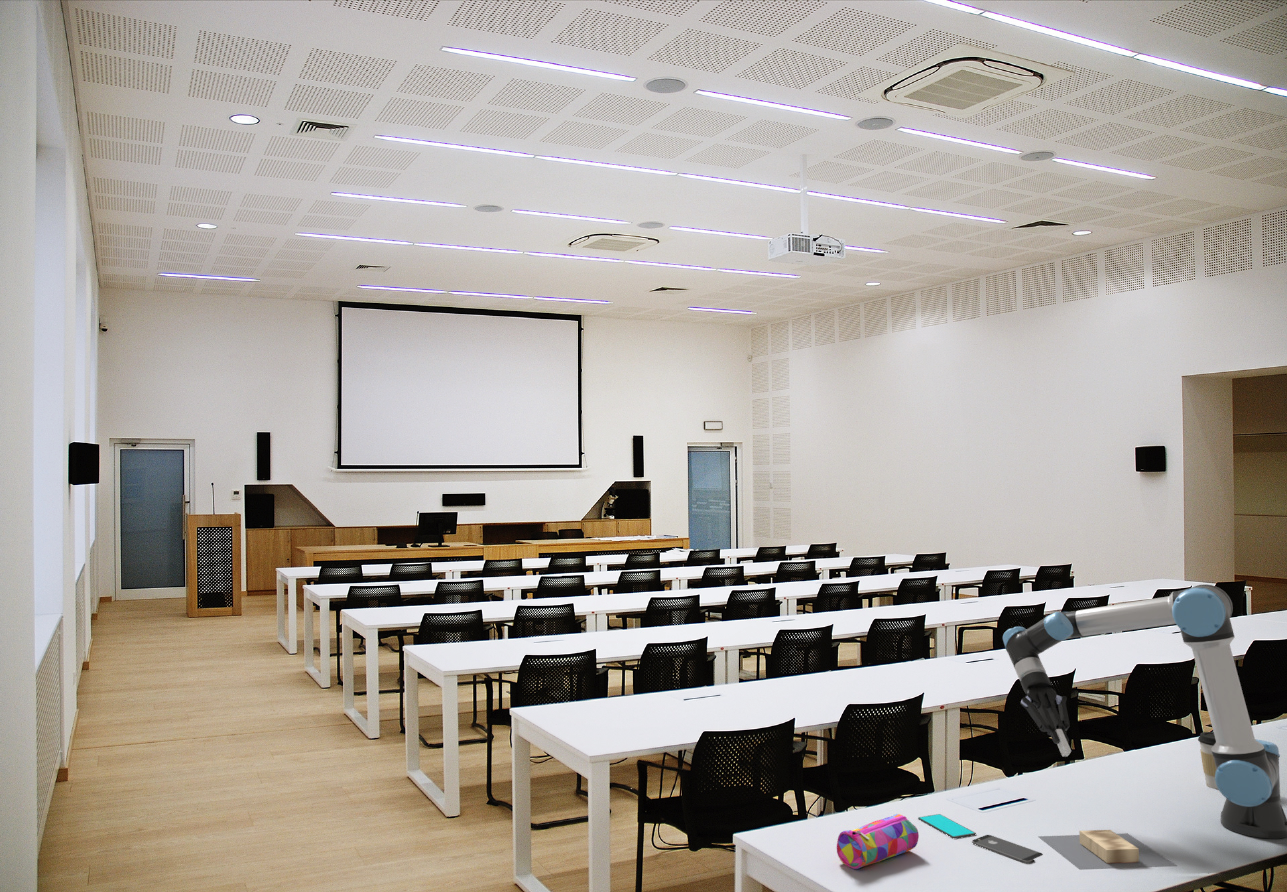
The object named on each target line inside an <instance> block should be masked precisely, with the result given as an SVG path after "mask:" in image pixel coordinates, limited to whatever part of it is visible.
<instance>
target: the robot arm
mask: <svg viewBox="0 0 1287 892" xmlns="http://www.w3.org/2000/svg"><path fill="white" fill-rule="evenodd" d="M1233 608H1234V607H1233V602H1232V600H1231V598H1230V596H1229V595H1228V594H1227V593H1226V591H1224V590H1223V589H1221V588H1220V587H1217V586H1216V585H1212V584H1199V585H1195V586H1193V587H1190V588H1186V589H1182V590H1177V591H1172V592H1171V593H1170V594H1169V596H1164V597H1157V598H1156V597H1155V598H1151V599H1142V600H1137V601H1131V602H1124V603H1119V604H1111V605H1106V606H1099V607H1091V608H1085V609H1080V610H1079V609H1078V610H1073V611H1056V612H1053V613H1051V614H1049V615H1047V616H1045V617H1044V618H1043V619H1041V620H1039V621H1038V622H1037V623H1035V624H1033V625H1031V626H1030V627H1028V628H1027V629H1026V628H1025V627H1023V626H1014V627H1012V628H1008V629H1007V630H1006V631H1005V632H1004V633H1003V635H1002V641H1003V644H1004V648H1005V651H1006V652H1007V655H1008V656H1009V659H1010V661H1011V663H1012V665H1013V668H1014V670H1015V672H1016V675H1017V677H1018V679H1019V681H1020V685H1021V686H1022V689H1023V691H1024V694H1025V696H1024V697H1022V698H1021V701H1020V706H1021V707H1023V708H1024V709H1025V710H1026V711H1027V712H1028V714H1029V716H1030V717H1031V718H1032V720H1033V722H1034V723H1035V724H1036V726H1037V727H1038V728H1039V730H1040V731H1041V732H1042V733H1045V732H1046V734H1047V735H1048V736H1050V738H1051V740H1052V741H1053V743H1054V744H1055V745H1057V747H1058V749H1059V752H1060V755H1061V756H1062V757H1068V756H1069V755H1070V754H1071V752H1072V750H1071V747H1070V745H1069V741H1070V740H1069V737H1068V736H1069V735H1067V731H1068V729H1069V728H1070V726H1071V724H1070V718H1069V714H1068V708H1067V700H1068V697H1067V696H1065V695H1062V696H1060V695H1058V694H1057V692H1056V690H1054V689H1053V685H1052V683H1051V680H1050V678H1049V675H1048V674H1047V672H1046V670H1045V669H1046V668H1045V667H1044V665H1043V663H1042V661H1041V658H1040V654H1041V653H1043V652H1045V651H1046V650H1049V649H1050V648H1052V647H1053V646H1055V645H1057V644H1059V643H1061V642H1063V641H1066V640H1068V639H1074V638H1083V637H1087V636H1096V635H1102V634H1103V635H1104V634H1109V633H1110V634H1111V633H1119V632H1124V631H1125V632H1126V631H1133V630H1140V629H1146V628H1154V627H1162V626H1169V625H1176V626H1177V627H1178V629H1179V630H1180V633H1181V637H1182V641H1183V644H1185V645H1186V646H1187V647H1190V649H1192V650H1191V651H1192V654H1193V657H1194V662H1195V665H1196V669H1197V672H1198V677H1199V681H1200V685H1201V688H1202V692H1203V693H1202V694H1203V696H1204V700H1205V703H1206V707H1207V712H1208V716H1209V720H1210V723H1211V726H1212V727H1211V728H1212V732H1214V735H1215V739H1216V743H1215V744H1214V746H1213V747H1212V748H1211V750H1212V754H1213V758H1214V762H1215V766H1216V772H1215V782H1216V785H1217V788H1218V789H1217V790H1218V791H1219V792H1220V794H1221V795H1222V796H1223V797H1224V798H1225V801H1224V804H1223V808H1222V811H1221V813H1220V824H1221V826H1223V827H1224V828H1226V829H1228V830H1230V831H1232V832H1235V833H1238V834H1240V835H1243V836H1249V837H1254V838H1259V839H1271V840H1273V839H1275V840H1276V839H1284V838H1287V816H1286V814H1285V811H1284V809H1283V806H1282V804H1281V783H1280V782H1281V780H1280V779H1281V778H1280V757H1281V755H1280V753H1279V746H1278V745H1277V744H1275V743H1274V742H1270V741H1267V740H1262V739H1256V738H1255V735H1254V731H1253V727H1252V723H1251V719H1250V715H1249V712H1248V708H1247V705H1246V701H1245V697H1244V694H1243V690H1242V689H1243V688H1242V686H1241V685H1242V684H1241V682H1240V677H1239V675H1238V670H1237V667H1236V663H1235V659H1234V656H1233V652H1232V648H1231V643H1232V642H1233V640H1234V639H1236V638H1235V633H1234V629H1233V626H1232V621H1231V617H1232V614H1233ZM1055 702H1056V703H1055ZM1056 705H1058V707H1057V708H1058V710H1057V708H1056Z"/></svg>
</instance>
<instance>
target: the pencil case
mask: <svg viewBox="0 0 1287 892" xmlns="http://www.w3.org/2000/svg"><path fill="white" fill-rule="evenodd" d="M919 836H920V835H919V830H918V828H917V827H916V825H915V824H913V823H912V822H911V821H910V820H909V819H908V818H907V817H906V816H905V815H903V814H900V813H899V814H898V813H896V814H894V815H891V816H887V817H885V818H883V819H882V818H881V819H878V820H875V821H874V820H873V821H871V822H870V823H867V824H865V825H862V826H861V827H858V828H855V829H853V830H843V831H841V832H840V833H839V834H838V837H837V842H836V853H837V857H838V858H839V860H840V861H841V863H842V864H844V866H847V867H849V869H852V870H859V869H861V868H862V867H866V866H869V865H873V864H876V863H879V862H882V861H884V860H887V859H889V858H893V857H895V856H898V855H901V854H904V853H907V852H910V851H912V850H913V849H915V848H916V847H917V845H918V842H919Z"/></svg>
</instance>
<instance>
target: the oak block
mask: <svg viewBox="0 0 1287 892" xmlns="http://www.w3.org/2000/svg"><path fill="white" fill-rule="evenodd" d="M1117 834H1118V833H1117V832H1114V831H1113V830H1111V829H1096V830H1095V829H1094V830H1093V829H1092V830H1091V829H1090V830H1079V834H1078V835H1080V843H1081V844H1082V845H1083V846H1085V847H1086V848H1087V849H1089V850H1090V851H1091V852H1093V853H1094V854H1096V855H1097V856H1098V857H1100V858H1101V859H1102V860H1104V861H1105V862H1106V863H1108V864H1110V863H1137V862H1139V849H1138V848H1137V847H1135V846H1134V845H1132V844H1131V843H1129V842H1128V841H1126V840H1125V839H1123V838H1122V837H1120V836H1119V835H1117Z"/></svg>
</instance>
